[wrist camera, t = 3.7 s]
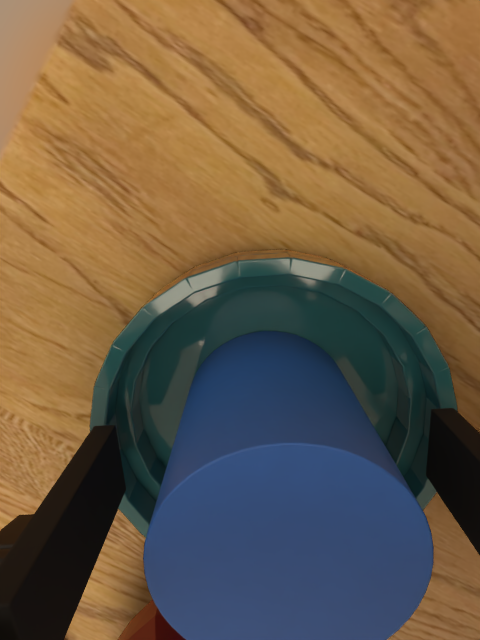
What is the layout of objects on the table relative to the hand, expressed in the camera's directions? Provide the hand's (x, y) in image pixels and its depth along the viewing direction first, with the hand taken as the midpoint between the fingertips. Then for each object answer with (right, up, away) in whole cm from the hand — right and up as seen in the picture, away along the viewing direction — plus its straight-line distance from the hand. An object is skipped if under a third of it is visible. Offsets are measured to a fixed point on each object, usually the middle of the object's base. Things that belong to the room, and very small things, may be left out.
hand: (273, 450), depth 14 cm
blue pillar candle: (0, +1, +3) cm, 3 cm away
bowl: (0, +1, +4) cm, 4 cm away
